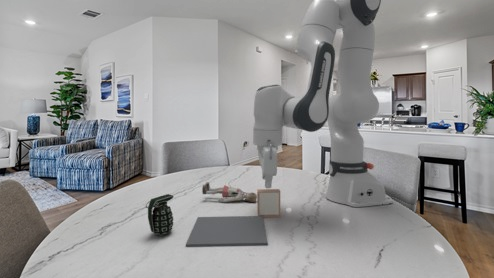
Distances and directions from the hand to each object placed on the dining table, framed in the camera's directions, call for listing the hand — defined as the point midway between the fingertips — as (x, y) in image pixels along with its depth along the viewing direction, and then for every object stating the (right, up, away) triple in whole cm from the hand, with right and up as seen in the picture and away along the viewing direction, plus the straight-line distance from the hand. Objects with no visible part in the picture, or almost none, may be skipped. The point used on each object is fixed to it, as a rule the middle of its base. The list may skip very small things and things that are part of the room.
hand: (266, 183), depth 78 cm
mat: (-11, -12, -9) cm, 18 cm away
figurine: (-12, -9, +15) cm, 22 cm away
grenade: (-29, -12, -10) cm, 33 cm away
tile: (+1, -10, +1) cm, 10 cm away
